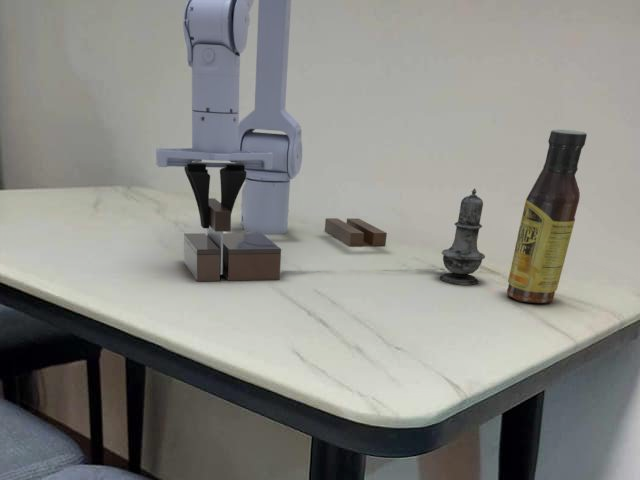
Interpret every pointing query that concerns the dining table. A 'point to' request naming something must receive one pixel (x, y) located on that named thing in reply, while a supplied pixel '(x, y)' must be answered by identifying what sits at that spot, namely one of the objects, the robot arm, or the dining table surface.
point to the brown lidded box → (250, 257)
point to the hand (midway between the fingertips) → (214, 227)
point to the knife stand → (355, 232)
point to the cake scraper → (218, 225)
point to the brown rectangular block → (202, 257)
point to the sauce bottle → (547, 222)
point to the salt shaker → (465, 244)
